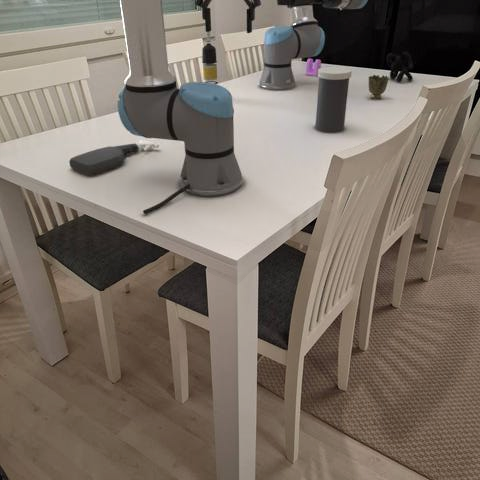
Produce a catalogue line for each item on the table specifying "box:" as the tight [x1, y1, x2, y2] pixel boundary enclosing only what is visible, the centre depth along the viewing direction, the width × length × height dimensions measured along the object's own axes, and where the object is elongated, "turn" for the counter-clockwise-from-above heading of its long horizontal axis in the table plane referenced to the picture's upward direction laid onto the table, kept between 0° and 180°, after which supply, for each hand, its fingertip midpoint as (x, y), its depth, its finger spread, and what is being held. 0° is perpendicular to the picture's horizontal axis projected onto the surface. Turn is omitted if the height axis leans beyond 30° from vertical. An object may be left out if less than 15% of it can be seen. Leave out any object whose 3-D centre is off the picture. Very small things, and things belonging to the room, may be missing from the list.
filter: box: [201, 31, 219, 85], centre depth 171 cm, size 6×6×30 cm
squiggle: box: [385, 51, 414, 83], centre depth 198 cm, size 11×10×15 cm
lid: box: [317, 66, 353, 80], centre depth 136 cm, size 10×10×2 cm
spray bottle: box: [68, 139, 160, 177], centre depth 124 cm, size 3×11×24 cm
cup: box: [368, 74, 390, 99], centre depth 173 cm, size 8×7×8 cm
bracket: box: [305, 57, 324, 77], centre depth 214 cm, size 13×6×7 cm, turn 143°
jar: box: [314, 77, 350, 134], centre depth 141 cm, size 9×9×18 cm
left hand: (228, 32), depth 139 cm, fingers open, 13 cm apart
